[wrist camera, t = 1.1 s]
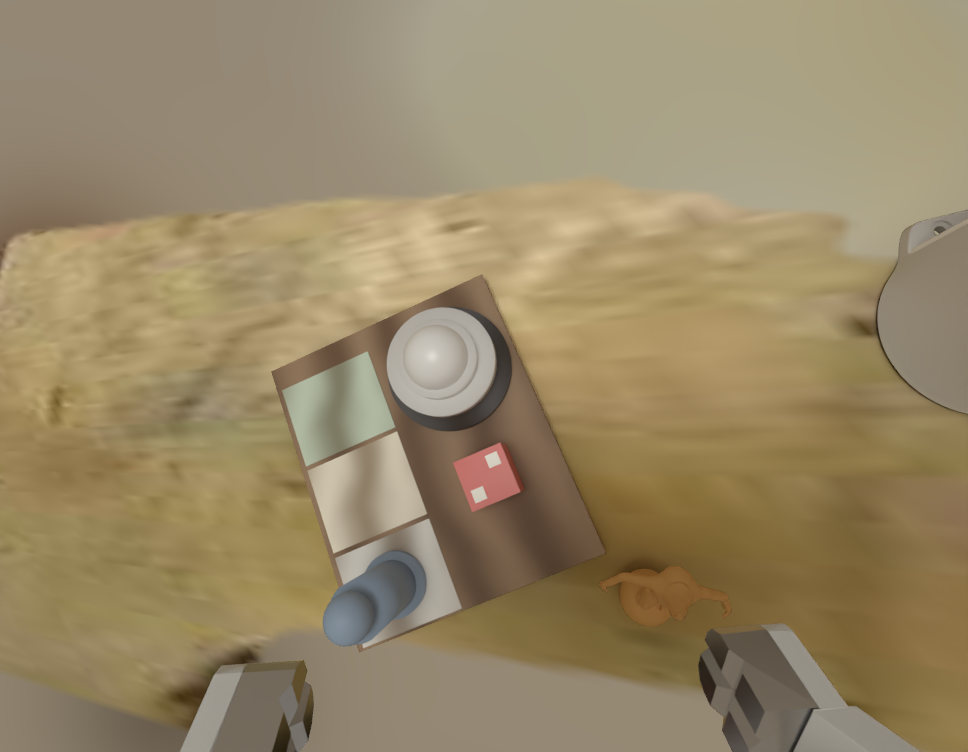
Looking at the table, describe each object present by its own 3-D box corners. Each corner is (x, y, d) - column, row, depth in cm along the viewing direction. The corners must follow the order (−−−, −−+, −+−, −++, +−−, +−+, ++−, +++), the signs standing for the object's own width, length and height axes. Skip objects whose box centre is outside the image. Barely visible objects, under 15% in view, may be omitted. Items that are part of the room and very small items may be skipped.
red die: (506, 444, 40) (499, 442, 36) (524, 488, 40) (520, 491, 36) (463, 462, 41) (452, 462, 37) (481, 507, 40) (471, 512, 36)
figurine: (586, 604, 39) (597, 666, 27) (596, 528, 40) (610, 557, 28) (694, 627, 37) (754, 704, 25) (701, 548, 38) (763, 588, 26)
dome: (472, 296, 41) (459, 272, 36) (513, 391, 39) (506, 380, 34) (378, 339, 41) (353, 322, 36) (414, 434, 39) (392, 431, 34)
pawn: (413, 540, 40) (361, 569, 30) (435, 602, 39) (389, 654, 29) (358, 563, 41) (288, 599, 30) (379, 625, 39) (312, 685, 29)
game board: (484, 280, 45) (480, 270, 42) (604, 549, 39) (607, 555, 37) (280, 374, 47) (265, 369, 44) (366, 645, 41) (354, 657, 38)
